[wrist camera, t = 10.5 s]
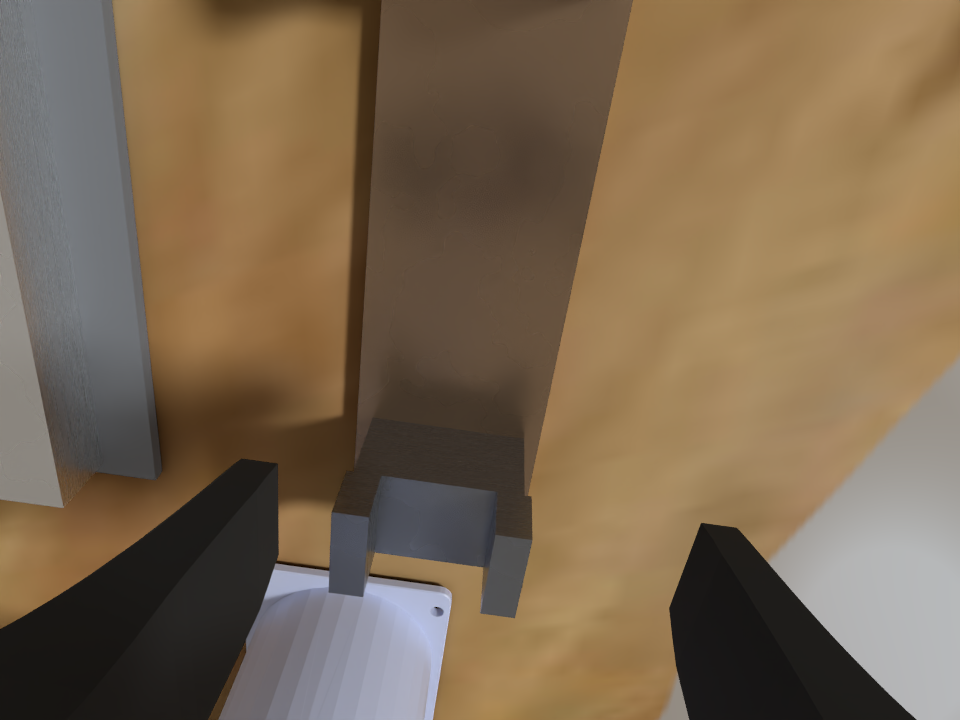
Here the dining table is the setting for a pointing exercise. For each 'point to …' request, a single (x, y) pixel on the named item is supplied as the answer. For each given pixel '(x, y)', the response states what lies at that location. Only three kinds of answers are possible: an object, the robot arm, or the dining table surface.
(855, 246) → the dining table surface
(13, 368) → the rail
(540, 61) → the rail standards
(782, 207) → the dining table surface
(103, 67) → the mat
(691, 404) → the dining table surface
